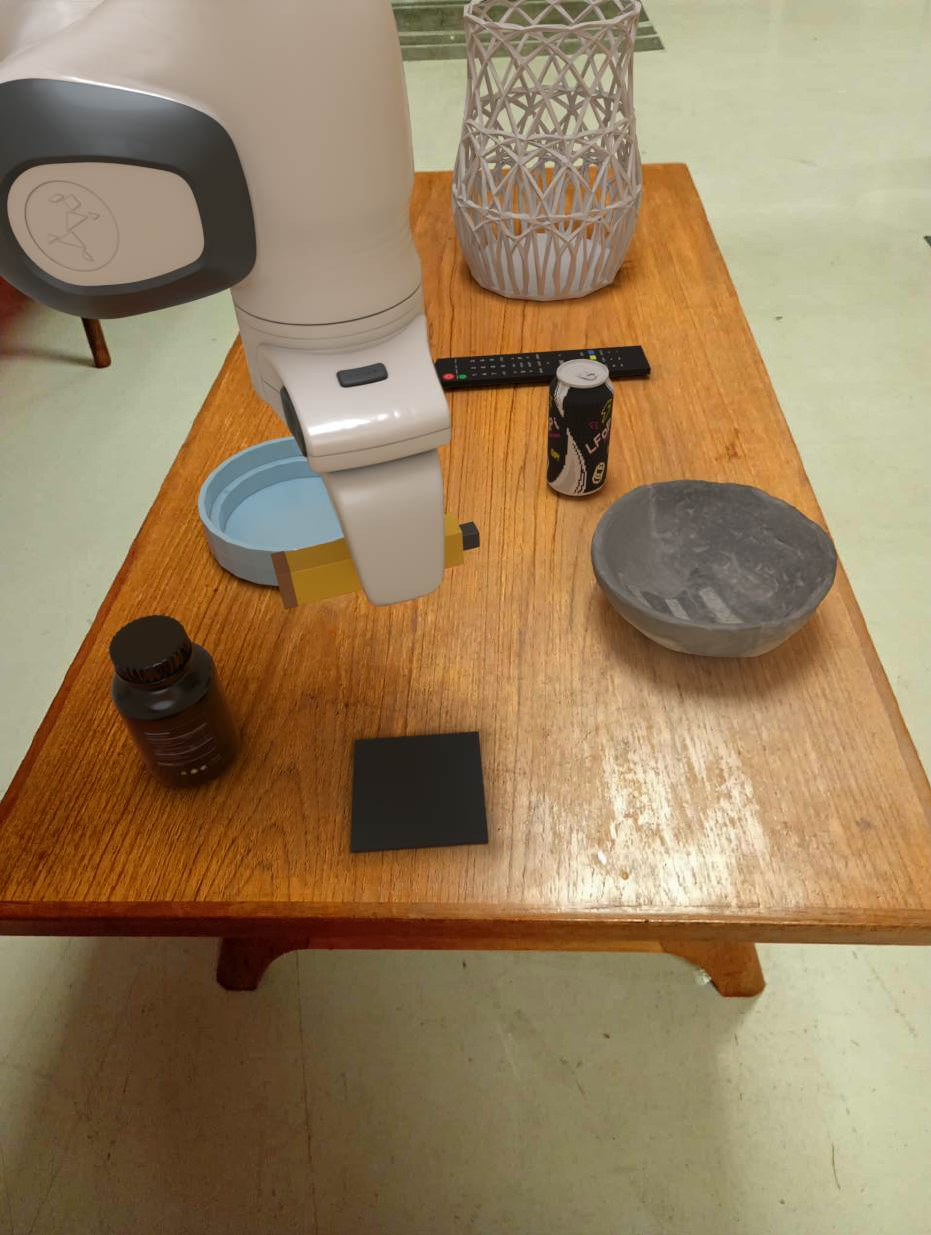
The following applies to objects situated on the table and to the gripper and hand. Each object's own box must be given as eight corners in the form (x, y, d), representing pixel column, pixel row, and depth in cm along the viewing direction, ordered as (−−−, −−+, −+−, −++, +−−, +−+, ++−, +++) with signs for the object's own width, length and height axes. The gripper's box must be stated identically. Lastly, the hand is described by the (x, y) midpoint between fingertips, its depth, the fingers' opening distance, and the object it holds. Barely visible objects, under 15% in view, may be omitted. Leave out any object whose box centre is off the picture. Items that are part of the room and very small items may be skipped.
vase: (632, 233, 128) (656, -20, 107) (637, 310, 111) (666, 27, 90) (465, 232, 130) (456, -15, 109) (445, 308, 113) (429, 32, 92)
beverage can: (580, 509, 83) (588, 395, 74) (533, 485, 86) (536, 373, 77) (617, 481, 86) (629, 369, 77) (571, 459, 89) (577, 348, 80)
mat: (351, 853, 58) (350, 850, 58) (355, 743, 64) (354, 739, 64) (488, 843, 58) (488, 839, 58) (478, 734, 65) (478, 730, 64)
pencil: (285, 610, 52) (276, 576, 50) (279, 587, 53) (270, 553, 52) (483, 560, 54) (482, 526, 52) (472, 540, 56) (470, 505, 54)
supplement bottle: (142, 733, 66) (87, 618, 57) (234, 705, 67) (194, 590, 59) (153, 806, 61) (95, 693, 53) (251, 775, 63) (210, 660, 54)
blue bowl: (196, 597, 76) (182, 557, 73) (223, 479, 88) (212, 440, 85) (396, 583, 76) (391, 543, 73) (395, 467, 89) (391, 429, 86)
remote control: (649, 379, 99) (650, 368, 98) (434, 393, 98) (434, 382, 98) (639, 356, 103) (641, 345, 102) (433, 369, 102) (432, 358, 101)
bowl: (548, 581, 76) (551, 507, 70) (720, 524, 81) (736, 449, 75) (664, 732, 64) (678, 656, 58) (858, 654, 69) (889, 577, 63)
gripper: (239, 268, 49) (285, 472, 59) (314, 466, 35) (358, 692, 45) (349, 248, 51) (376, 452, 60) (464, 433, 37) (475, 659, 46)
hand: (369, 556), depth 53 cm, fingers closed on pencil, 2 cm apart
